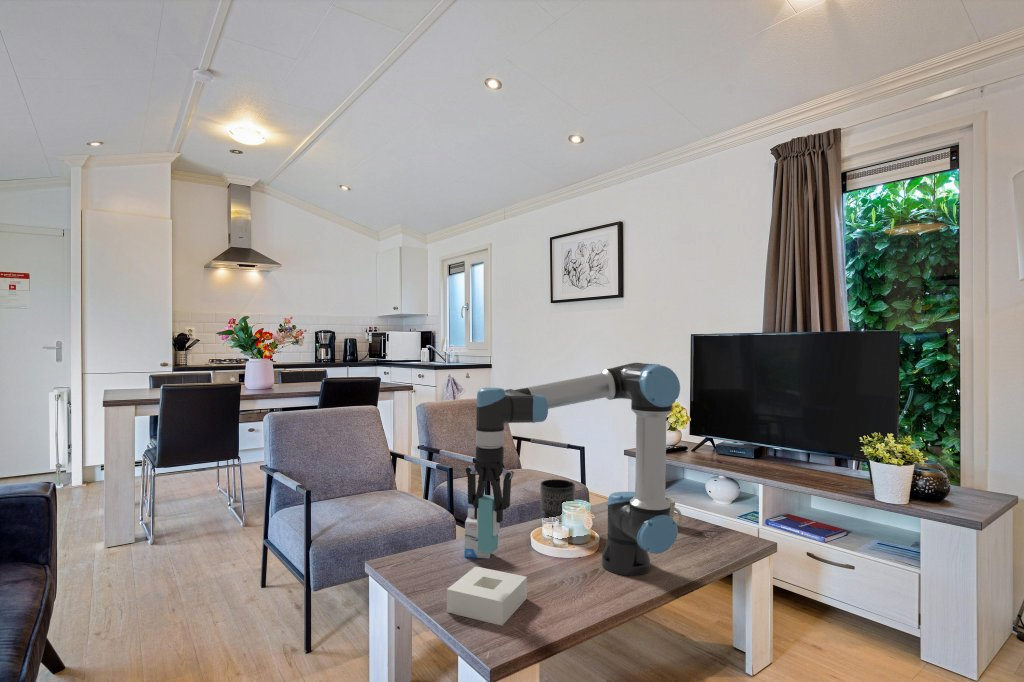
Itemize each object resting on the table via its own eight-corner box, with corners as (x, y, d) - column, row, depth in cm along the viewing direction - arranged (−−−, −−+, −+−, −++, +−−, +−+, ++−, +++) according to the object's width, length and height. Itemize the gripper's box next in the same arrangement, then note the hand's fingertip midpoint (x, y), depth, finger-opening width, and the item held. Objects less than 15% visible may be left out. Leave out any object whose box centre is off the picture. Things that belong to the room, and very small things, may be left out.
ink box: (463, 557, 181) (464, 512, 181) (466, 551, 186) (467, 507, 186) (489, 559, 180) (490, 513, 180) (491, 553, 185) (492, 508, 185)
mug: (661, 520, 220) (661, 495, 220) (688, 529, 211) (689, 503, 211) (648, 525, 215) (648, 499, 215) (676, 534, 205) (676, 507, 205)
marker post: (497, 548, 150) (498, 496, 150) (491, 553, 146) (492, 500, 146) (484, 545, 152) (485, 494, 152) (477, 551, 148) (478, 498, 148)
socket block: (526, 598, 153) (526, 576, 153) (502, 625, 139) (502, 601, 139) (475, 587, 160) (475, 566, 160) (446, 612, 145) (447, 589, 145)
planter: (537, 525, 213) (538, 479, 213) (571, 525, 214) (571, 479, 214) (541, 537, 200) (542, 488, 200) (577, 537, 201) (578, 488, 201)
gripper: (524, 446, 149) (522, 533, 149) (468, 440, 156) (466, 523, 156) (513, 451, 142) (511, 542, 142) (455, 445, 149) (453, 531, 149)
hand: (488, 532), depth 149 cm, fingers closed on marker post, 4 cm apart
